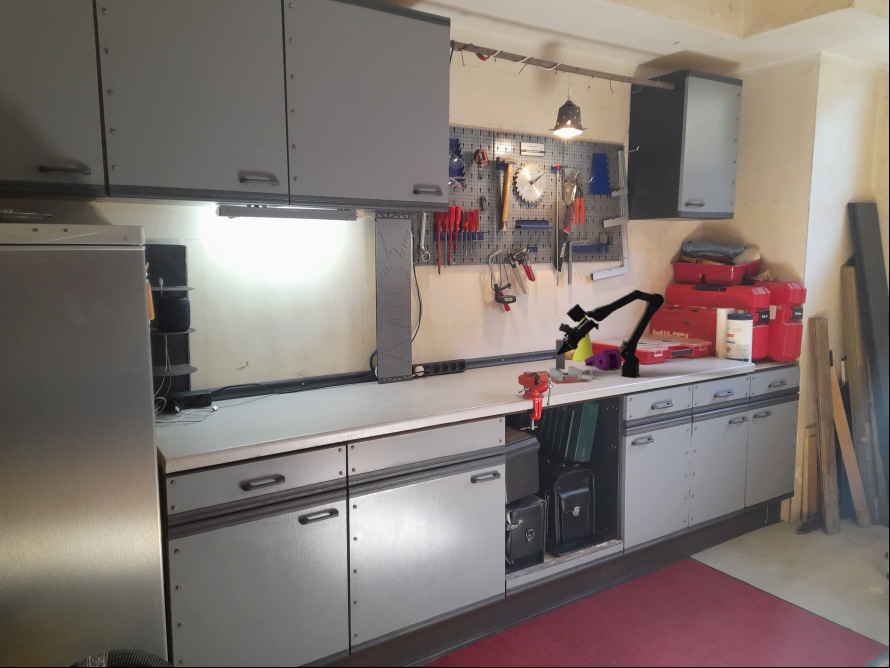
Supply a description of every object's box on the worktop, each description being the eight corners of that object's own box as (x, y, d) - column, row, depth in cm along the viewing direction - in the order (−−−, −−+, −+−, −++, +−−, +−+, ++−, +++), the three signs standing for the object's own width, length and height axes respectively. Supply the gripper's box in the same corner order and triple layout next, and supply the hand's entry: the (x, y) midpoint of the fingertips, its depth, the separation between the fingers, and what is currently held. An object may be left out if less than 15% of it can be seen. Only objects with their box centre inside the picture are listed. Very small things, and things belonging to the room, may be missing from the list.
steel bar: (564, 367, 268) (564, 339, 267) (564, 369, 265) (565, 340, 263) (555, 367, 269) (555, 339, 268) (555, 369, 265) (556, 340, 264)
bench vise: (585, 376, 261) (585, 365, 261) (595, 380, 253) (595, 369, 252) (547, 379, 257) (547, 367, 256) (556, 383, 248) (556, 371, 247)
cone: (565, 359, 307) (565, 311, 304) (579, 356, 315) (580, 310, 312) (584, 362, 298) (585, 313, 295) (598, 359, 306) (600, 311, 303)
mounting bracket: (585, 377, 289) (608, 367, 273) (580, 361, 291) (603, 350, 275) (600, 376, 293) (623, 365, 277) (595, 359, 295) (618, 348, 280)
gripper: (568, 315, 272) (544, 338, 276) (570, 319, 254) (544, 344, 257) (586, 332, 272) (561, 355, 275) (588, 337, 254) (562, 362, 257)
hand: (557, 353), depth 266 cm, fingers closed on steel bar, 4 cm apart
